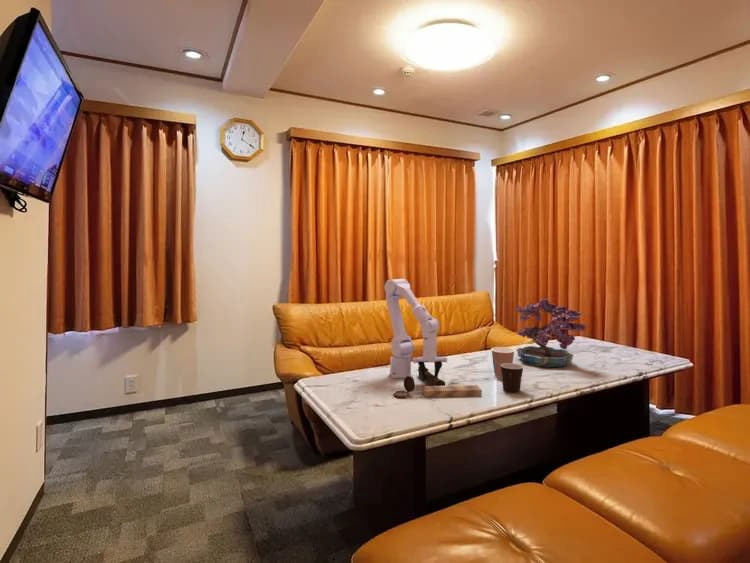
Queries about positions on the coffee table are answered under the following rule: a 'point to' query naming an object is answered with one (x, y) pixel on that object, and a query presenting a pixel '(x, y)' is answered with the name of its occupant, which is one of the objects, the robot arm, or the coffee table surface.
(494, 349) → the coffee cup
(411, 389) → the compass
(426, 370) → the hand tool
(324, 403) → the coffee table surface
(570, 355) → the bonsai tree
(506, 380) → the coffee mug
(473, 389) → the light brown wooden board
